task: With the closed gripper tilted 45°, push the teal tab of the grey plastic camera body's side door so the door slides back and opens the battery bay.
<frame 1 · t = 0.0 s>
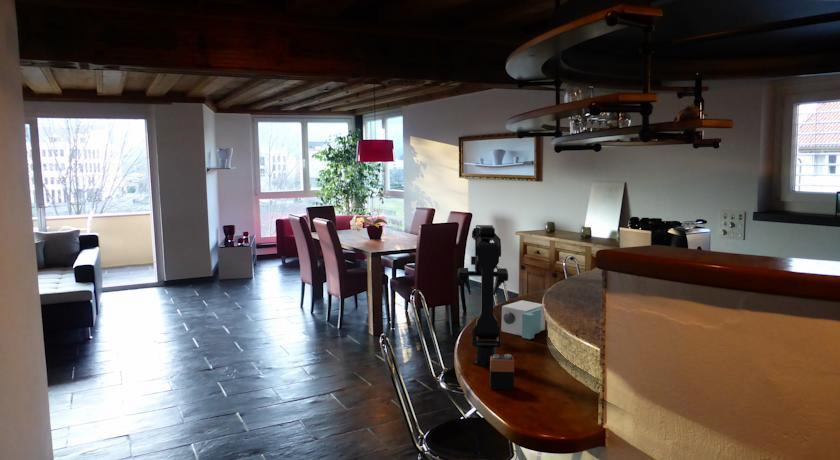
hand: (482, 294, 234), 15 cm above the table, tool pointing down, fingers open, 9 cm apart
camera body: (523, 330, 241), on the table
side door: (534, 323, 232), point 5 cm above the table, slide at 0.0 cm
battery: (501, 388, 180), on the table
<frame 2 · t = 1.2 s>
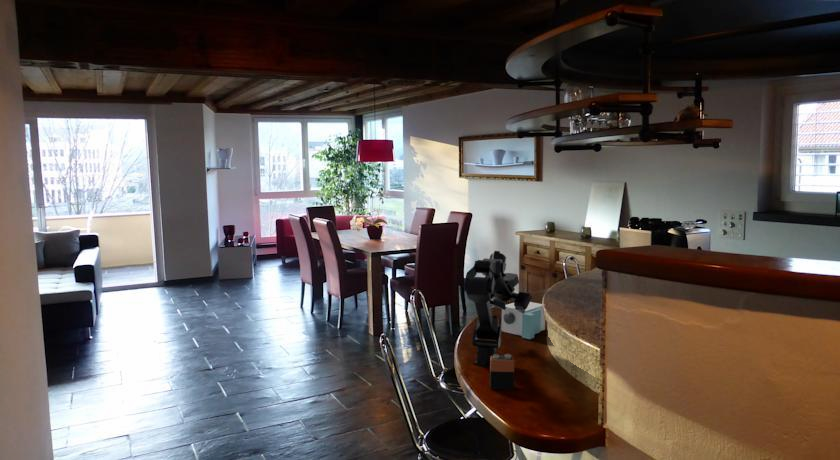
hand: (514, 310, 221), 12 cm above the table, tool tilted 45°, fingers open, 8 cm apart
nothing on the table moved.
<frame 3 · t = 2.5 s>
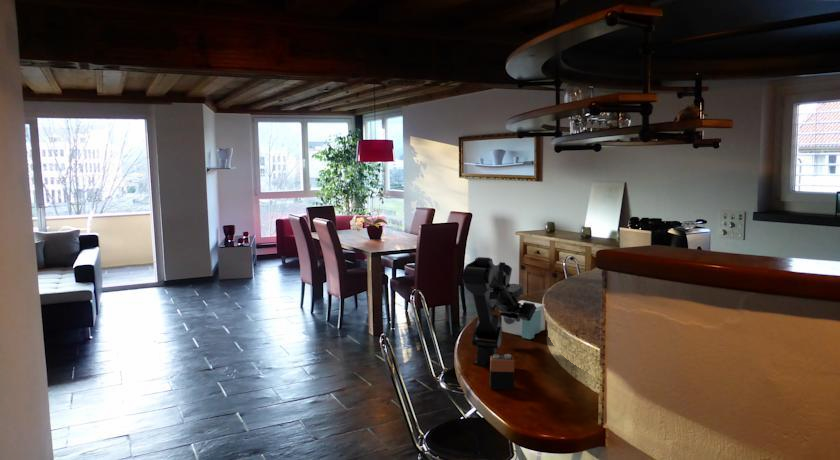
hand: (518, 320, 224), 8 cm above the table, tool tilted 45°, fingers closed
nothing on the table moved.
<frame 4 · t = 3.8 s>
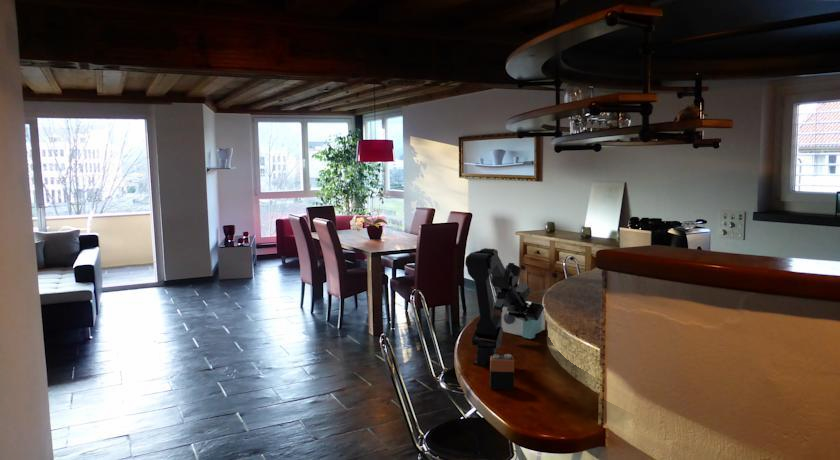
hand: (526, 320, 228), 7 cm above the table, tool tilted 45°, fingers closed, pressing on side door
side door: (534, 323, 232), point 5 cm above the table, slide at 0.6 cm, touching gripper
everything else where it was.
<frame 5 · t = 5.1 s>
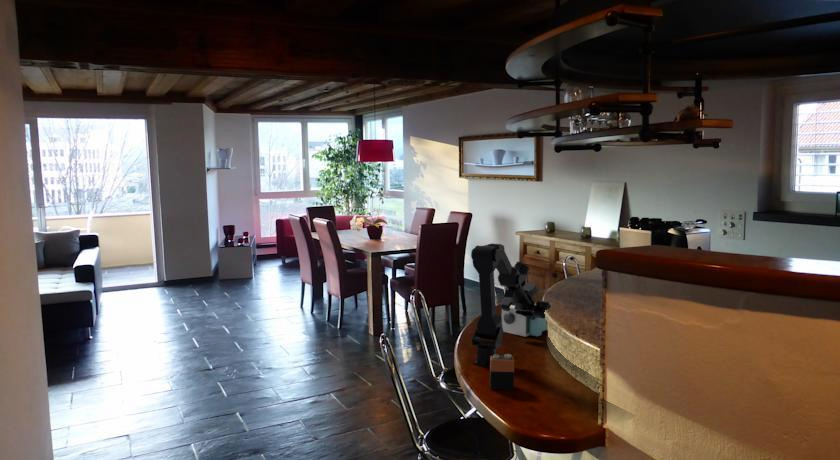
hand: (533, 318, 231), 7 cm above the table, tool tilted 45°, fingers closed, pressing on side door
side door: (541, 321, 235), point 5 cm above the table, slide at 5.2 cm, touching gripper
everything else where it was.
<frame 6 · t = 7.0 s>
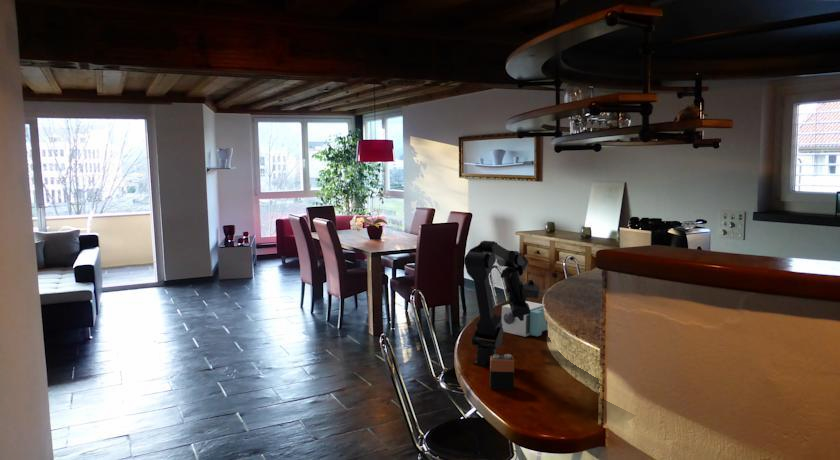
hand: (522, 320, 221), 9 cm above the table, tool tilted 20°, fingers closed
side door: (541, 321, 235), point 5 cm above the table, slide at 5.2 cm
everything else where it was.
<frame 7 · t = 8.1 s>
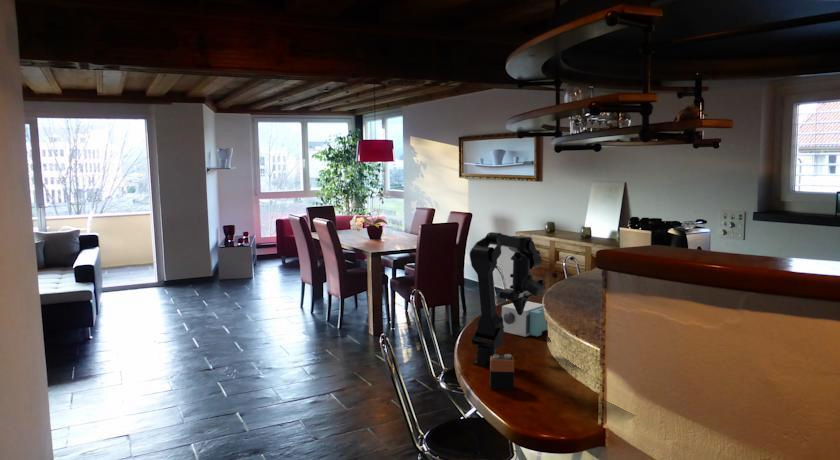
hand: (520, 314, 217), 12 cm above the table, tool pointing down, fingers closed
nothing on the table moved.
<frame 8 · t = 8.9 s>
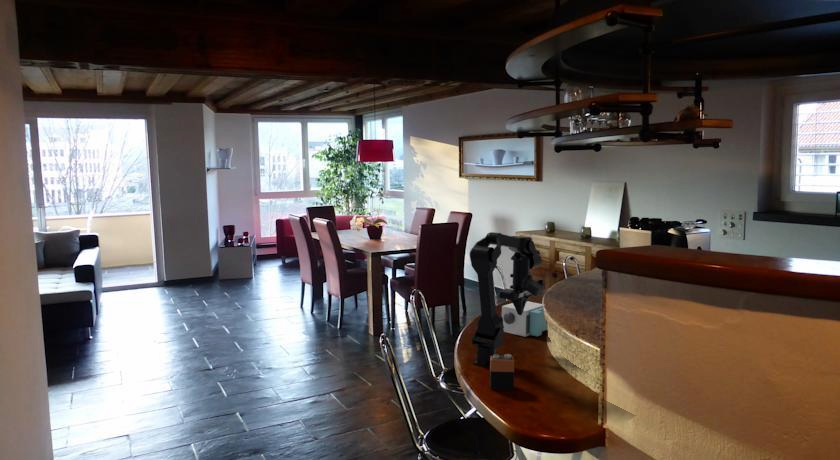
hand: (520, 314, 217), 12 cm above the table, tool pointing down, fingers closed
nothing on the table moved.
at the end: side door slide at 5.2 cm; battery moved 0.2 cm from its start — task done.
